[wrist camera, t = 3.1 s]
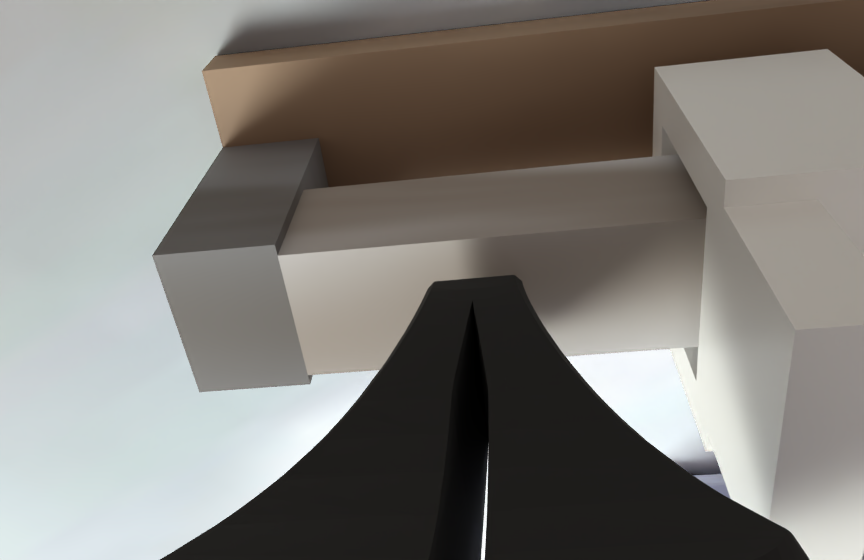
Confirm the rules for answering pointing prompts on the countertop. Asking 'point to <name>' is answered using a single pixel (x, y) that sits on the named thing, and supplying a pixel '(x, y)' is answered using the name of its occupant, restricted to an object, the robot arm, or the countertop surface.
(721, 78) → the sleeve
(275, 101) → the pipe board
